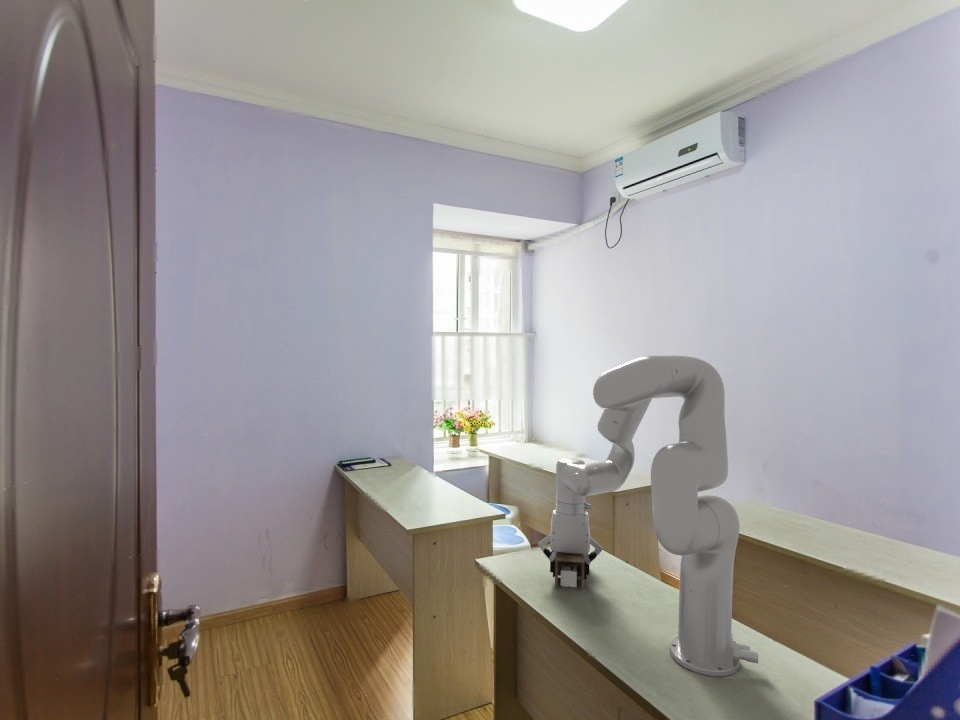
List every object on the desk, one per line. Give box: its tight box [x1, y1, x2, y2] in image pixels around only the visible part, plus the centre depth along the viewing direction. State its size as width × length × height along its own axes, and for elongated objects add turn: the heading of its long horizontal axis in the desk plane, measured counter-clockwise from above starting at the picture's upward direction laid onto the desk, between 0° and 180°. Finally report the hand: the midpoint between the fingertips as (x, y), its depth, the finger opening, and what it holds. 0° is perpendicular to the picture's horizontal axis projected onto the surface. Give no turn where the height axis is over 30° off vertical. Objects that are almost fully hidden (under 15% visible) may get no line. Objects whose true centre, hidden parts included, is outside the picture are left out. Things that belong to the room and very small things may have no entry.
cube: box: [560, 564, 578, 588], centre depth 136 cm, size 4×4×4 cm
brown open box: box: [554, 552, 585, 589], centre depth 136 cm, size 7×7×7 cm
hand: (569, 575), depth 136 cm, fingers closed on brown open box, 7 cm apart
